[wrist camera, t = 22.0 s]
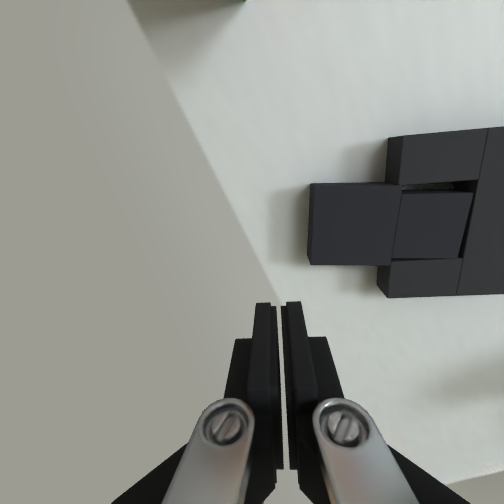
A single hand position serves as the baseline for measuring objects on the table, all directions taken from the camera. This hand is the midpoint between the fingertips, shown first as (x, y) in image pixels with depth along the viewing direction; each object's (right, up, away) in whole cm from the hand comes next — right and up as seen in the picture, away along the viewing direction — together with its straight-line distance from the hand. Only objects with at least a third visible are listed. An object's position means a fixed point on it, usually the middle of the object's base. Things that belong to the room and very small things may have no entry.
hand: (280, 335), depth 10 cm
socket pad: (+17, +7, +14) cm, 23 cm away
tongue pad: (+11, +6, +15) cm, 20 cm away
